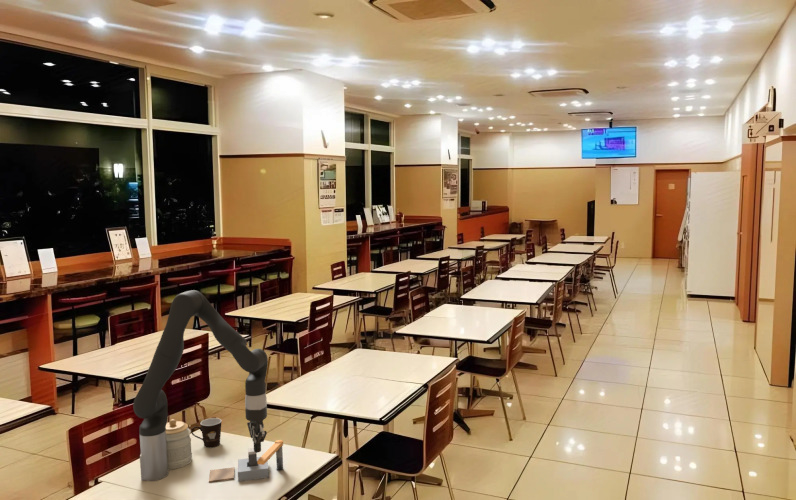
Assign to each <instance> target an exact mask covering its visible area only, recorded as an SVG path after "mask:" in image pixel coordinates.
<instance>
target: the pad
mask: <svg viewBox="0 0 796 500" xmlns="http://www.w3.org/2000/svg"><path fill="white" fill-rule="evenodd" d="M232 480H235V467H234V466H233V467H226V468H218V469H210V471H209V478H208V483H215V482H222V481H232Z"/></svg>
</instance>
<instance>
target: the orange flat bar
mask: <svg viewBox="0 0 796 500" xmlns="http://www.w3.org/2000/svg"><path fill="white" fill-rule="evenodd" d="M281 446H282V447H283V446H284V440H282V439H277V440H275V441H274V443H273V444H272V445H271V446H270V447H269V448H268V449H267V450H266V451H265V452H264V453H263V454H262V455H261V456H259V457H260V458H259V459H258V460H257V463H258V464H261V465H264V464H265V463H266V462H267V461H269V460H270V459H271V458H272V457H273V456H274V454H276V451H277V450H278V449H279V448H280V447H281Z"/></svg>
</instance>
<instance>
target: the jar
mask: <svg viewBox="0 0 796 500" xmlns="http://www.w3.org/2000/svg"><path fill="white" fill-rule="evenodd" d="M191 430H192V429H190V428H189V424H188V423H186V422H184V421H181V420H180V421H179V420H176V419H174V418H172V419H170V420H169V422H168V421H167V424H166V441H167V457H168V470H173V469H179V468H182V467H185V466H187V465H189V464H190V463H191V462H192V459H193V453H192V438H191V436H190V434H192V433H191Z"/></svg>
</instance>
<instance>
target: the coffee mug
mask: <svg viewBox="0 0 796 500" xmlns="http://www.w3.org/2000/svg"><path fill="white" fill-rule="evenodd" d="M199 424H200V426H194V427H192V428H191V429H190V430H191V433H190V434H192V436H193V437H195V438H197V439H200V440H201V441H202V442H203V446H204V447H205V448H208V449H212V448H216V447H218V446H220V445H221V437H222V436H221V431H222V419H221V418H219V417H210V418H206V419H203V420H201V422H200V423H199ZM195 429H199V431H200V432H201V436H202V437H200V436H198V435H195V434H194V432H193V430H195Z"/></svg>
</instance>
